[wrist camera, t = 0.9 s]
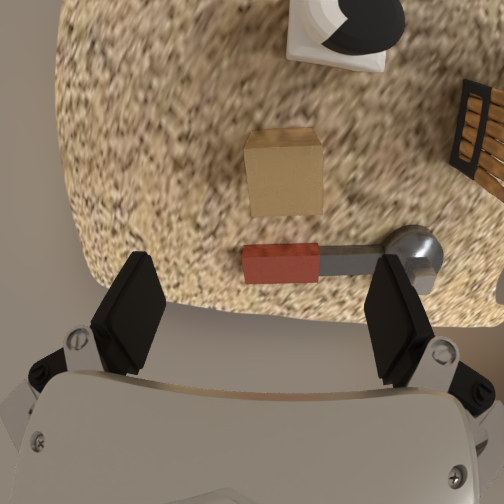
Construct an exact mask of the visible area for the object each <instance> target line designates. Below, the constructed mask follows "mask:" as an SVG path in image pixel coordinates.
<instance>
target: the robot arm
mask: <svg viewBox="0 0 504 504" xmlns="http://www.w3.org/2000/svg"><path fill="white" fill-rule="evenodd" d="M165 307H166V299H165V296H164V293H163V290H162V287H161V285H160V282H159V279H158V276H157V273H156V270H155V267H154V264H153V261H152V258H151V256H150V255H148V254H147V252H145V251H134V252H132V253H131V255H130V256H129V258H128V259H127V261H126V262H125V264H124V266H123V267H122V269H121V270H120V272H119V274H118V275H117V277H116V279H115V280H114V282H113V283H112V285H111V287H110V288H109V290H108V292H107V294H106V295H105V297H104V299H103V300H102V302H101V304H100V306H99V308H98V309H97V311H96V313H95V315H94V317H93V318H92V320H91V325H90V327H88V326H85V325H79V326H76V327H74V328H72V329H71V330H70V331H69V332H68V333H67V335H66V336H65V338H64V341H63V348H61V349H59V350H57V351H56V352H54V353H52V354H50V355H48V356H46V357H45V358H43V359H41V360H39V361H37V362H36V363H35V364H34V365H33V366H32V367H31V369H30V371H29V375H28V381H27V380H26V379H24V380H23V381H22V383H20V384H19V385H18V386H17V387H16V389H14V390H13V391H12V392H11V393H10V394H9V395H8V396H7V398H6V399H5V400H4V401H3V402H2V403H1V406H0V415H1V418H2V420H3V423H4V425H5V427H6V429H7V432H8V434H9V436H10V438H11V440H12V442H13V444H14V446H15V448H16V449H17V451H18V453H19V455H18V459H17V463H16V468H15V473H14V478H13V484H12V490H11V498H10V504H479V499H480V497H481V496H482V495H483V494H484V492H485V491H486V490H487V489H488V488H489V486H490V485H491V484H492V482H493V481H494V480H495V479H496V477H497V476H498V475H499V473H500V472H501V471H502V469H503V468H504V406H503V404H502V403H501V402H500V401H499V400H498V401H497V402H496V400H495V390H494V386H493V385H492V383H491V382H490V381H489V380H487V379H486V378H485V377H483V376H482V375H480V374H479V373H477V372H476V371H474V370H473V369H471V368H470V367H468V366H467V365H465V364H464V363H462V362H461V361H459V357H460V355H459V350H458V348H457V346H456V344H455V343H454V342H453V341H452V340H450V339H449V338H446V337H442V336H438V337H435V335H434V333H433V330H432V327H431V325H430V322H429V320H428V317H427V315H426V312H425V310H424V307H423V305H422V303H421V300H420V298H419V296H418V293H417V291H416V289H415V288H414V286H412V285H411V282H410V280H409V278H408V276H407V274H406V272H405V269H404V267H403V265H402V263H401V261H400V259H399V257H398V255H397V254H383V255H382V257H380V258H378V260H377V264H376V267H375V271H374V274H373V278H372V281H371V284H370V288H369V291H368V294H367V297H366V300H365V304H364V312H365V316H366V321H367V325H368V329H369V333H370V338H371V342H372V347H373V351H374V357H375V362H376V367H377V372H378V376H379V378H380V379H381V378H382V379H383V385H388V384H393V388H387V389H378V390H367V391H352V392H336V393H309V394H282V393H253V392H236V391H224V390H214V389H203V388H196V387H187V386H181V385H174V384H167V383H161V382H156V381H150V380H145V379H139V378H134V377H129V376H126V374H127V373H130V374H134V375H138V372H139V370H140V369H142V368H143V366H144V364H145V361H146V358H147V355H148V353H149V349H150V347H151V344H152V341H153V339H154V336H155V333H156V331H157V328H158V325H159V323H160V320H161V317H162V315H163V312H164V310H165Z"/></svg>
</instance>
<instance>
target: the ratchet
mask: <svg viewBox="0 0 504 504" xmlns="http://www.w3.org/2000/svg"><path fill="white" fill-rule="evenodd" d="M383 254H397V255H398V257H399V259H400V261H401V263H402V265H403V267H404V269H405V272H406V274H407V276H408V278H409V280H410V282H411V285H412V286H414V288H415V289H416V291H417V293H418V295H423V294H430V292H431V289H432V287H433V284H434V282H435V279H436V277H437V273H438V272H439V270H440V268H441V266H442V263H443V256H444V254H443V249H442V247H441V245H440V244H439V242H438V241H437V239H436V238H435V236H434V235H433V233H432V232H431V231H430V230H429V229H427V228H426V227H423V226H420V225H409V226H405V227H402V228H400V229H398V230H396V231H394V232H393V233H392V234H390V235H389V236H388V237H387V238H386V239H385V240H384V242H383V243H382V245H357V246H321V247H318V243H308V244H274V245H244V247H243V252H242V257H241V259H242V265H243V271H244V277H245V283H246V284H278V283H316V282H318V276H337V275H361V274H374V271H375V267H376V264H377V260H378V258H380V257H382V255H383Z"/></svg>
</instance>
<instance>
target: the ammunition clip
mask: <svg viewBox="0 0 504 504" xmlns="http://www.w3.org/2000/svg"><path fill="white" fill-rule="evenodd" d="M480 99H481V100H480ZM491 103H492V104H491ZM500 106H502V107H504V91H501V90H498V89H494V88H491V87H489V86H486V85H483V84H480V83H477V82H473V81H470V80H467V79H464V80H463V89H462V97H461V105H460V112H459V118H458V124H457V129H456V134H455V139H454V144H453V149H452V153H451V157H450V161H449V164H450V165H451V166H453V167H455V168H456V169H458V170H459V171H461V172H462V173H463V174H465V175H466V176H468V177H469V178H471V179H472V180H475V181H476V182H477V183H478V184H480V185H481V186H482V187H483V188H484V189H485V190H487V191H488V192H489V193H491V194H492V195H494V196H496V197H497V198H498V199H500V200H501V201H502V202H503V203H504V187H503V186H502V185H501V184H500V183H499V182H498V181H497V179H495V178H494V177H493V176H495V177H497V178H499V179H501V180H502V181H504V165H503V164H502V163H501V162H499V161H498V160H497V159H495V158H494V157H496V158H498V159H499V160H501V161H504V144H502V143H504V126H503V125H504V108H502V107H500ZM478 114H480V115H478ZM488 118H489V119H488ZM490 119H491V120H490ZM498 122H499V123H501V124H503V125H501V124H499V123H498ZM476 129H477V130H476ZM486 134H487V135H486ZM495 139H497V140H499V141H501V142H502V143H500V142H499V141H497V140H495ZM472 143H473V144H475V145H473V144H472ZM481 149H483V150H485V152H484V151H483V150H481ZM491 155H493V156H494V157H492V156H491ZM470 159H471V160H470ZM477 164H478V165H480V166H478V165H477ZM487 171H488V172H489V173H491V174H492V175H493V176H492V175H490V174H489V173H488V172H487Z"/></svg>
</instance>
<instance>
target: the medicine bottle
mask: <svg viewBox="0 0 504 504" xmlns="http://www.w3.org/2000/svg"><path fill="white" fill-rule="evenodd" d="M404 27H405V15H404V11H403V8H402V5H401V3H400V1H399V0H290V7H289V22H288V37H287V50H286V58H287V59H288V60H290V61H299V62H307V63H314V64H320V65H326V66H332V67H337V68H342V69H347V70H352V71H356V72H375V73H382V72H383V71H384V68H385V59H386V50H388V49H389V48H391V47H392V46H394V45H395V44H396V43H397V42H398V41H399V40H400V38H401V36H402V34H403V31H404Z"/></svg>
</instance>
